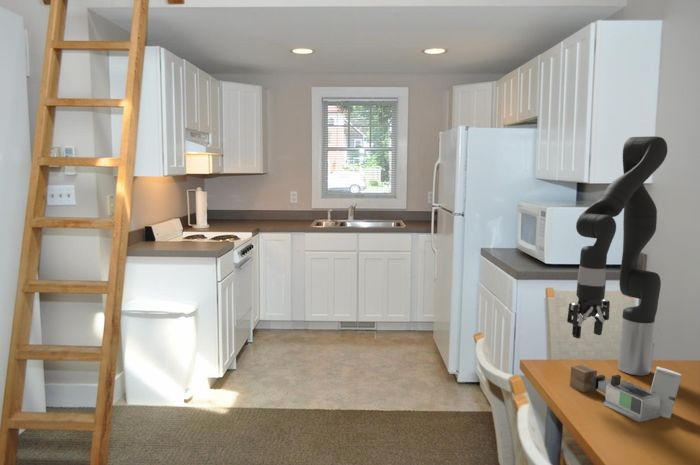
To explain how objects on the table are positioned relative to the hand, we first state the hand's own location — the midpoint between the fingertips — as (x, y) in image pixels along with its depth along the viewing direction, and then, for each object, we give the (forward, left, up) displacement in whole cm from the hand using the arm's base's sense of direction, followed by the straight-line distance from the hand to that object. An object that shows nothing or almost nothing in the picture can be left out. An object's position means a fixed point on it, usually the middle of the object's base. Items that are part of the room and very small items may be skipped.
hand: (587, 336), depth 160 cm
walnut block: (0, 0, -16) cm, 16 cm away
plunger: (+1, +10, -14) cm, 17 cm away
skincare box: (-6, +20, -16) cm, 27 cm away
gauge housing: (0, +16, -16) cm, 22 cm away
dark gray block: (+3, +13, -9) cm, 16 cm away
